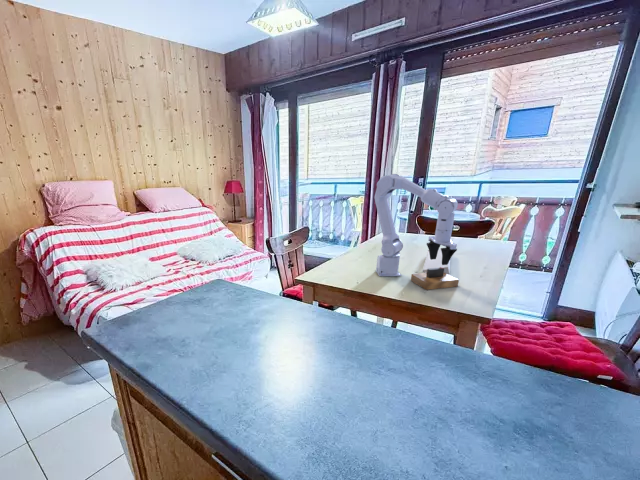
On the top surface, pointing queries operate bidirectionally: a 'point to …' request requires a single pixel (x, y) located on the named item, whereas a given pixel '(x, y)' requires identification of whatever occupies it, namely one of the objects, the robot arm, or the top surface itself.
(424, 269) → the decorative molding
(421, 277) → the panel
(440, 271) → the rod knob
